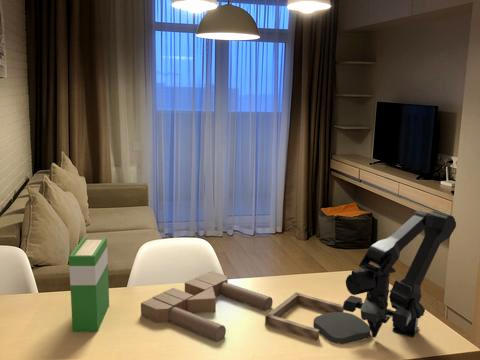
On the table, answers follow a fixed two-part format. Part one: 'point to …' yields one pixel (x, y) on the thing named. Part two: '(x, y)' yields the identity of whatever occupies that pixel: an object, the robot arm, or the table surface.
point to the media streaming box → (341, 327)
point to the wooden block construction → (200, 304)
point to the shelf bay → (296, 328)
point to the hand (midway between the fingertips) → (374, 336)
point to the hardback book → (89, 284)
